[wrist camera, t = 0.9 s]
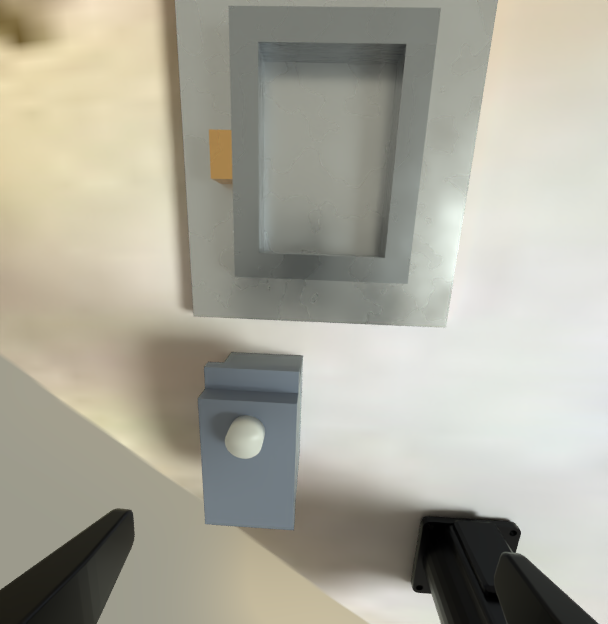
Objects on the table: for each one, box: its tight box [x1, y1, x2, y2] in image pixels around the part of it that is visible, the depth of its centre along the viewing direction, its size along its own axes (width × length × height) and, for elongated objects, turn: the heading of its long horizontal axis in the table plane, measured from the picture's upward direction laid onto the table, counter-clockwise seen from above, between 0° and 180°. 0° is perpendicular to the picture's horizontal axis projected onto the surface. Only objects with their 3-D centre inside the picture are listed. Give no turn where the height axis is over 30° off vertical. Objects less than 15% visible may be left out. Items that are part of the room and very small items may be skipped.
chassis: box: [175, 0, 498, 328], centre depth 15 cm, size 16×14×2 cm
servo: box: [198, 352, 303, 530], centre depth 16 cm, size 9×4×6 cm, turn 178°
